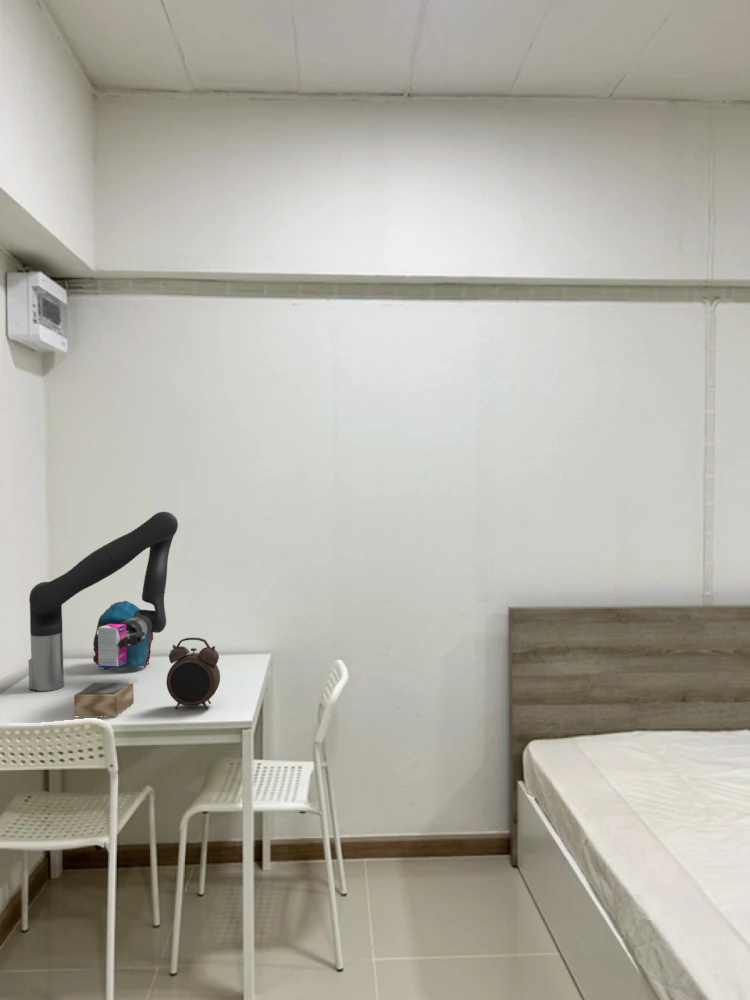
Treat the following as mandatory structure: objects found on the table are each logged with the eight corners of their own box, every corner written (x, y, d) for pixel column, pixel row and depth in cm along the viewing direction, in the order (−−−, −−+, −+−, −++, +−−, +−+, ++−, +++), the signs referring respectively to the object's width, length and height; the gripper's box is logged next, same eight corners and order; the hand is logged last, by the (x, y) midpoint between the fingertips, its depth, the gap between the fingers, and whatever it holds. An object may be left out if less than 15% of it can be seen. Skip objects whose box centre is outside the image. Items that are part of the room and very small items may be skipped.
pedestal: (74, 717, 202) (74, 694, 202) (93, 703, 214) (92, 682, 214) (117, 717, 202) (116, 694, 202) (133, 703, 214) (133, 681, 214)
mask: (102, 688, 255) (73, 622, 256) (153, 663, 268) (126, 600, 269) (119, 681, 242) (89, 611, 243) (172, 655, 255) (143, 589, 256)
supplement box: (117, 668, 206) (115, 627, 206) (97, 667, 207) (96, 627, 207) (127, 663, 212) (126, 623, 212) (109, 662, 213) (107, 623, 213)
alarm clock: (164, 712, 206) (163, 641, 205) (173, 704, 213) (171, 635, 212) (215, 712, 205) (214, 640, 204) (222, 704, 212) (221, 635, 212)
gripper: (107, 619, 224) (83, 631, 207) (153, 619, 223) (133, 631, 207) (107, 644, 224) (84, 658, 207) (154, 643, 224) (134, 657, 207)
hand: (109, 644), depth 207 cm, fingers closed on supplement box, 6 cm apart
